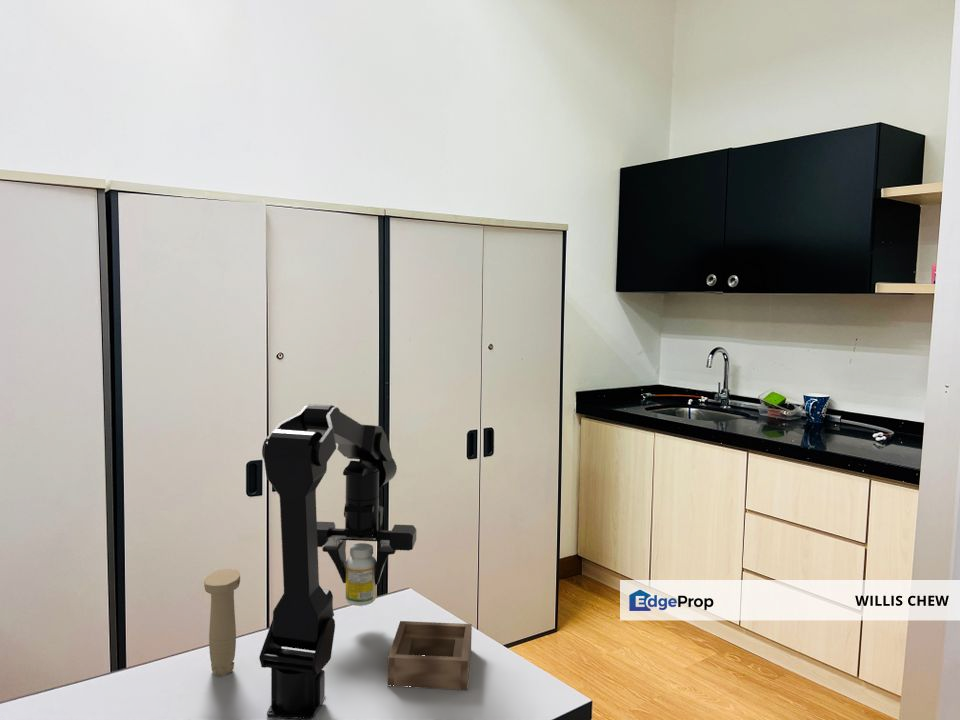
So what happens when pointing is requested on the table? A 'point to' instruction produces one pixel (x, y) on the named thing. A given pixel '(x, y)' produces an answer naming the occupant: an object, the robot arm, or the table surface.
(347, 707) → the table surface
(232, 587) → the handle
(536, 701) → the table surface
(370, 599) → the supplement bottle
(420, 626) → the walnut box
